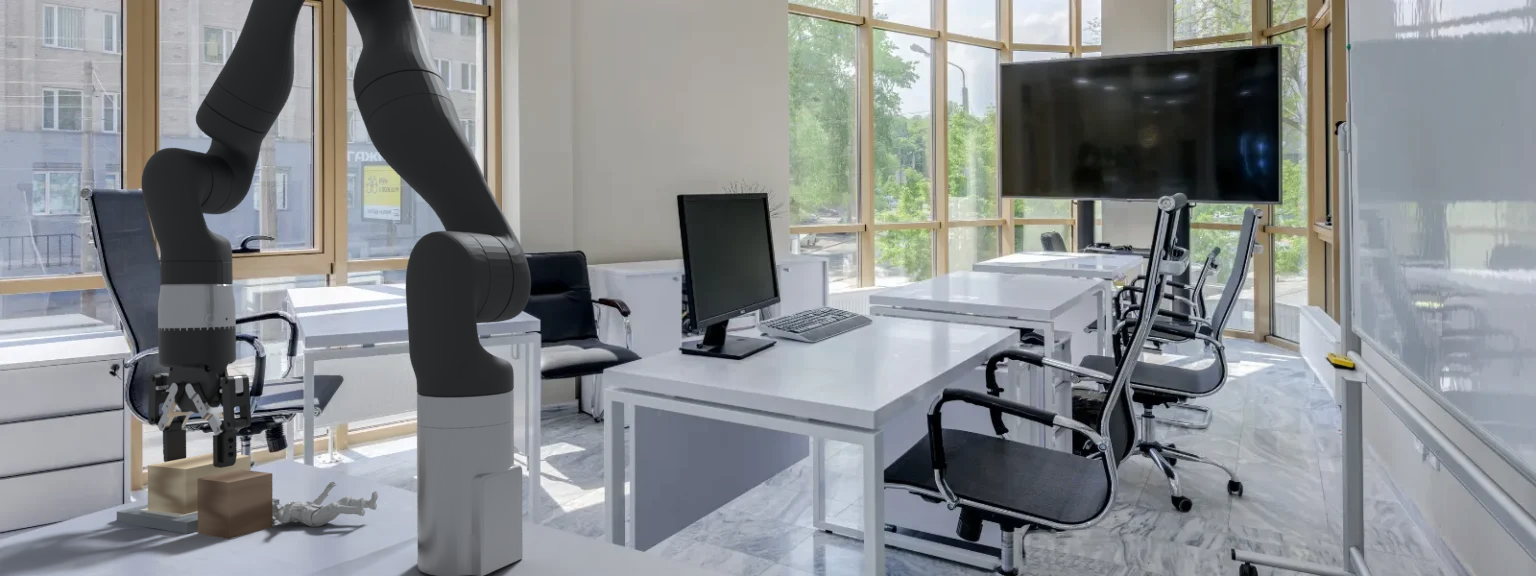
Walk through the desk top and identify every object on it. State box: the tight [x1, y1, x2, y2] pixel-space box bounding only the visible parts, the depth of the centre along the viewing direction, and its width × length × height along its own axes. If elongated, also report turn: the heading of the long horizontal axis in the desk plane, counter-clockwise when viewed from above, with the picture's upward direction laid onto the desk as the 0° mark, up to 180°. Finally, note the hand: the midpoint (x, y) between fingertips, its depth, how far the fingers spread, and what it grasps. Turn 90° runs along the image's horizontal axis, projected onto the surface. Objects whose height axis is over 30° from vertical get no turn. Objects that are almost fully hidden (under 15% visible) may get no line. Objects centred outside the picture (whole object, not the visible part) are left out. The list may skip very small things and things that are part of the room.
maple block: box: [147, 452, 252, 514], centre depth 102 cm, size 6×8×5 cm
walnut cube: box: [197, 470, 274, 540], centre depth 96 cm, size 5×5×6 cm
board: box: [116, 498, 280, 535], centre depth 102 cm, size 12×11×1 cm
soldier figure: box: [272, 481, 379, 528], centre depth 98 cm, size 8×5×12 cm
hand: (199, 464), depth 101 cm, fingers open, 8 cm apart
